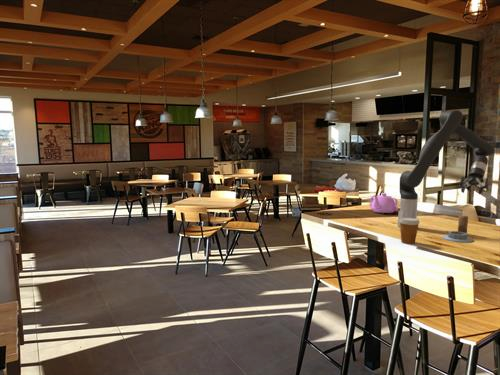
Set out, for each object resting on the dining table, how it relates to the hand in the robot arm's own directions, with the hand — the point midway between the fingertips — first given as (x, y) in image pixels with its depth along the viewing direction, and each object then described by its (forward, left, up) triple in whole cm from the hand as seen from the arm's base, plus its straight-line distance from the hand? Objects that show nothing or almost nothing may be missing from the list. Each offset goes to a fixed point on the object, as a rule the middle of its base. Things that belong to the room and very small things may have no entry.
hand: (471, 192), depth 218 cm
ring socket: (-17, -19, -22) cm, 34 cm away
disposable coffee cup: (-46, -26, -22) cm, 58 cm away
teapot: (-28, +59, -22) cm, 69 cm away
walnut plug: (-8, -8, -22) cm, 25 cm away
